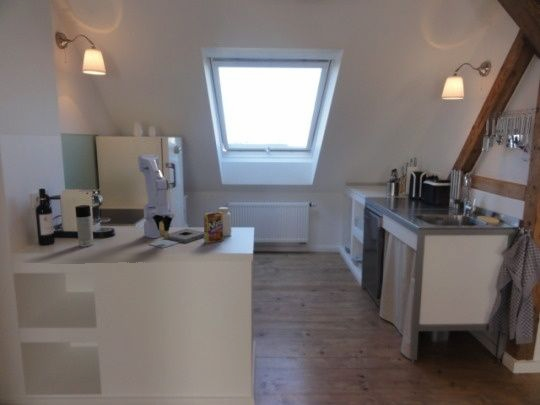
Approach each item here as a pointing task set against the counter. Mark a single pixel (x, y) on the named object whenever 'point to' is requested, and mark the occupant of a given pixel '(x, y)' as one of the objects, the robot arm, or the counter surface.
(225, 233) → the pill bottle
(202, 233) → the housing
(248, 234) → the counter surface
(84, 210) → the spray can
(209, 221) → the candy box
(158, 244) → the mat
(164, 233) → the end plug
